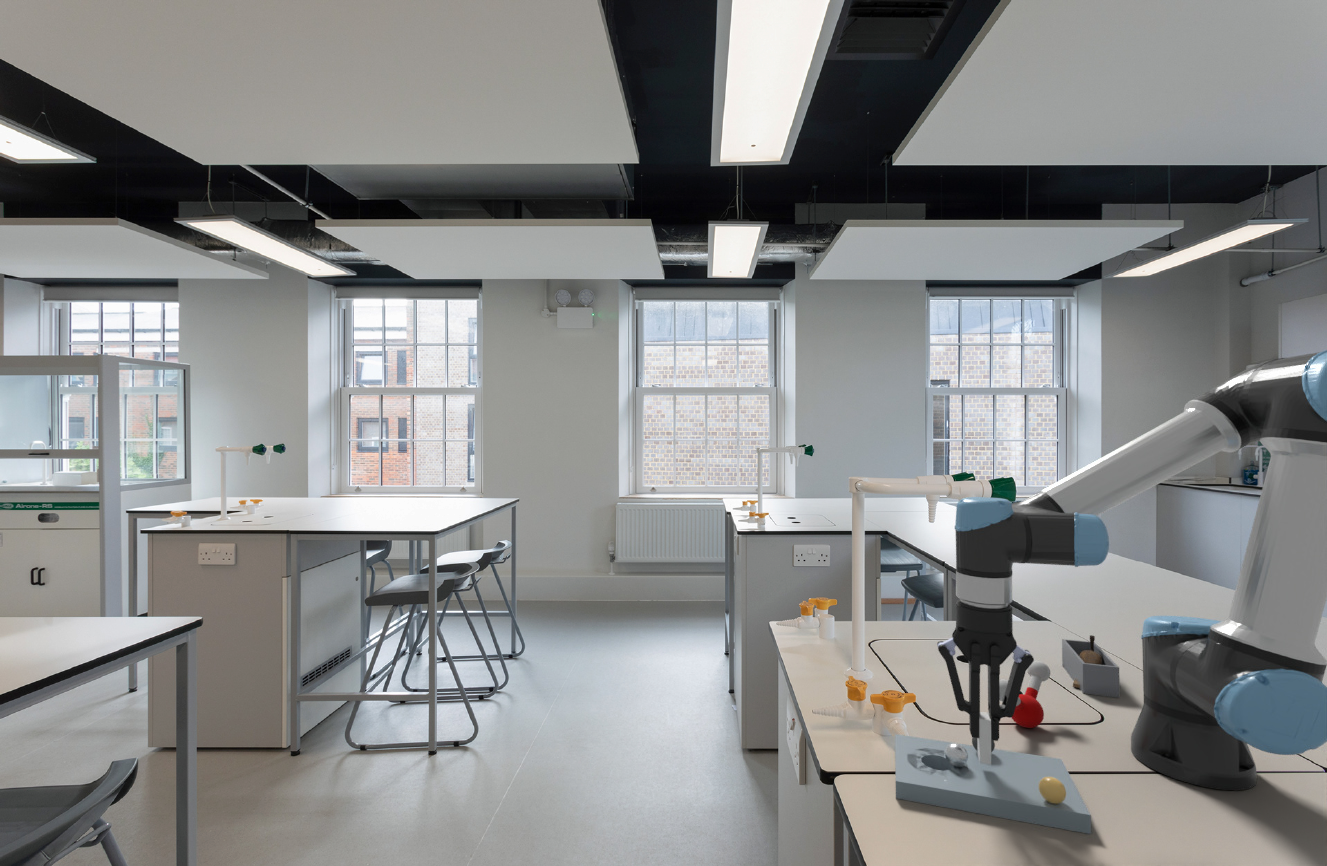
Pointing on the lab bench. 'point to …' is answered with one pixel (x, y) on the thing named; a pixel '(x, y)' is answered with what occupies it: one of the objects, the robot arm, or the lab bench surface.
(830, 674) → the lab bench surface
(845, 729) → the lab bench surface
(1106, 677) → the open storage box
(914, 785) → the plate
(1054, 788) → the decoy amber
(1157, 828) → the lab bench surface
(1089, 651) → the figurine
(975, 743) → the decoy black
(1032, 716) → the molecular model
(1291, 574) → the robot arm
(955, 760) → the steel ball
